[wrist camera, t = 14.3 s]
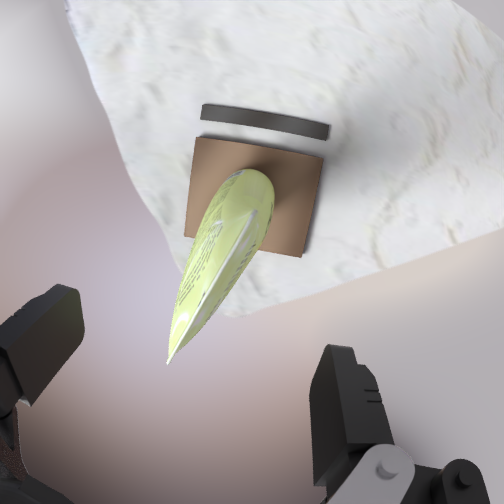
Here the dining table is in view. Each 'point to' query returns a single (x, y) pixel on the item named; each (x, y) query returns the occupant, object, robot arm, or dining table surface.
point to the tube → (221, 251)
